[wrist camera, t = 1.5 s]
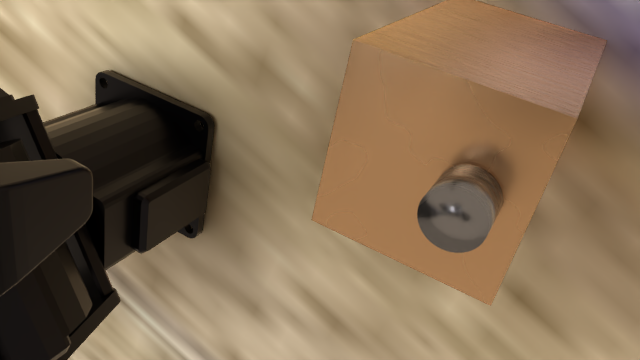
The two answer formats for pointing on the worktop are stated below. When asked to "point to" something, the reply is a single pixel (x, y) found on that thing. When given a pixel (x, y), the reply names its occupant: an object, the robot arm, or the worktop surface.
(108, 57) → the worktop surface
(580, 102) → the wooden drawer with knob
